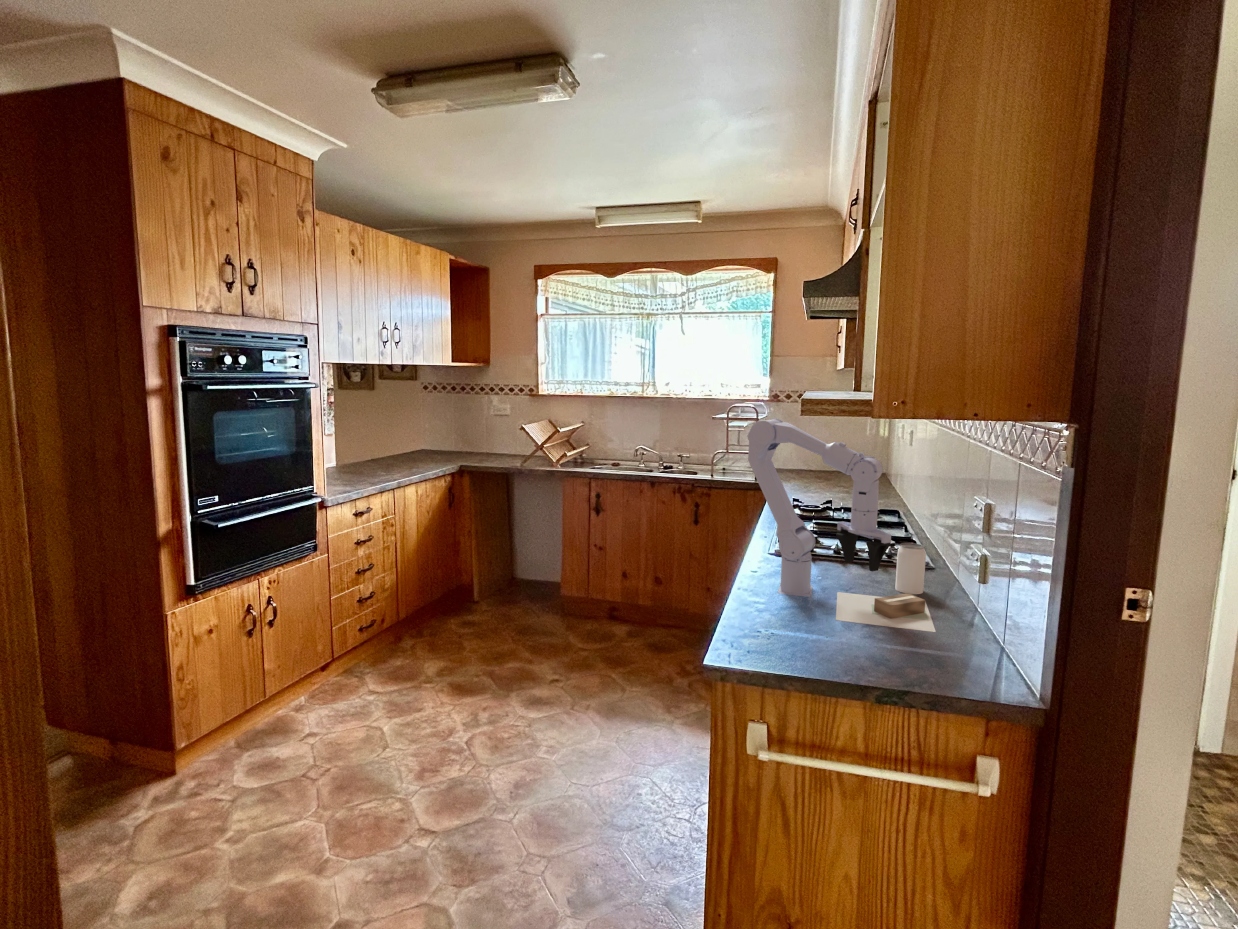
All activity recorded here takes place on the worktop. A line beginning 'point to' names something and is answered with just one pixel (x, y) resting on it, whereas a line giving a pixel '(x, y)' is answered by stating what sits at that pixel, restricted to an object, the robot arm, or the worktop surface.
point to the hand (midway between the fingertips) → (861, 566)
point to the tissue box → (899, 605)
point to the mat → (863, 612)
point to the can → (910, 568)
